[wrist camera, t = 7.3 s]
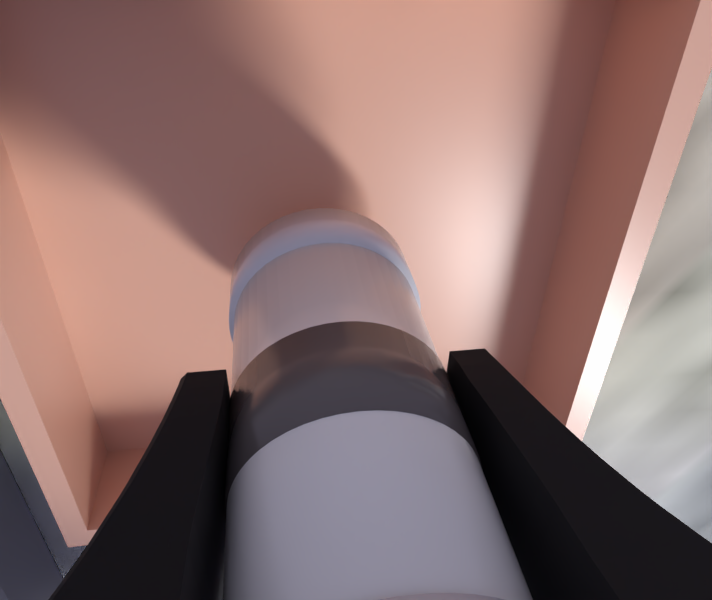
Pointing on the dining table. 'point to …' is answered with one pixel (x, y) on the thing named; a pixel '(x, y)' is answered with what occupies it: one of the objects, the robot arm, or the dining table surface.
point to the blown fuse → (348, 431)
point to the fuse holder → (22, 547)
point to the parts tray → (318, 189)
